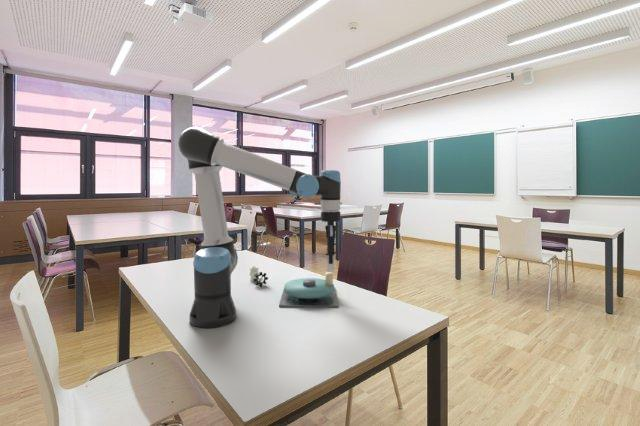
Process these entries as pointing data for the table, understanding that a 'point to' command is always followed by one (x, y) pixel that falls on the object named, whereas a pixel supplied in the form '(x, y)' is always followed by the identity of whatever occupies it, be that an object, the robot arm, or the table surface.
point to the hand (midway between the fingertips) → (330, 271)
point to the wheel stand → (308, 301)
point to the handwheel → (310, 287)
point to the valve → (257, 276)
